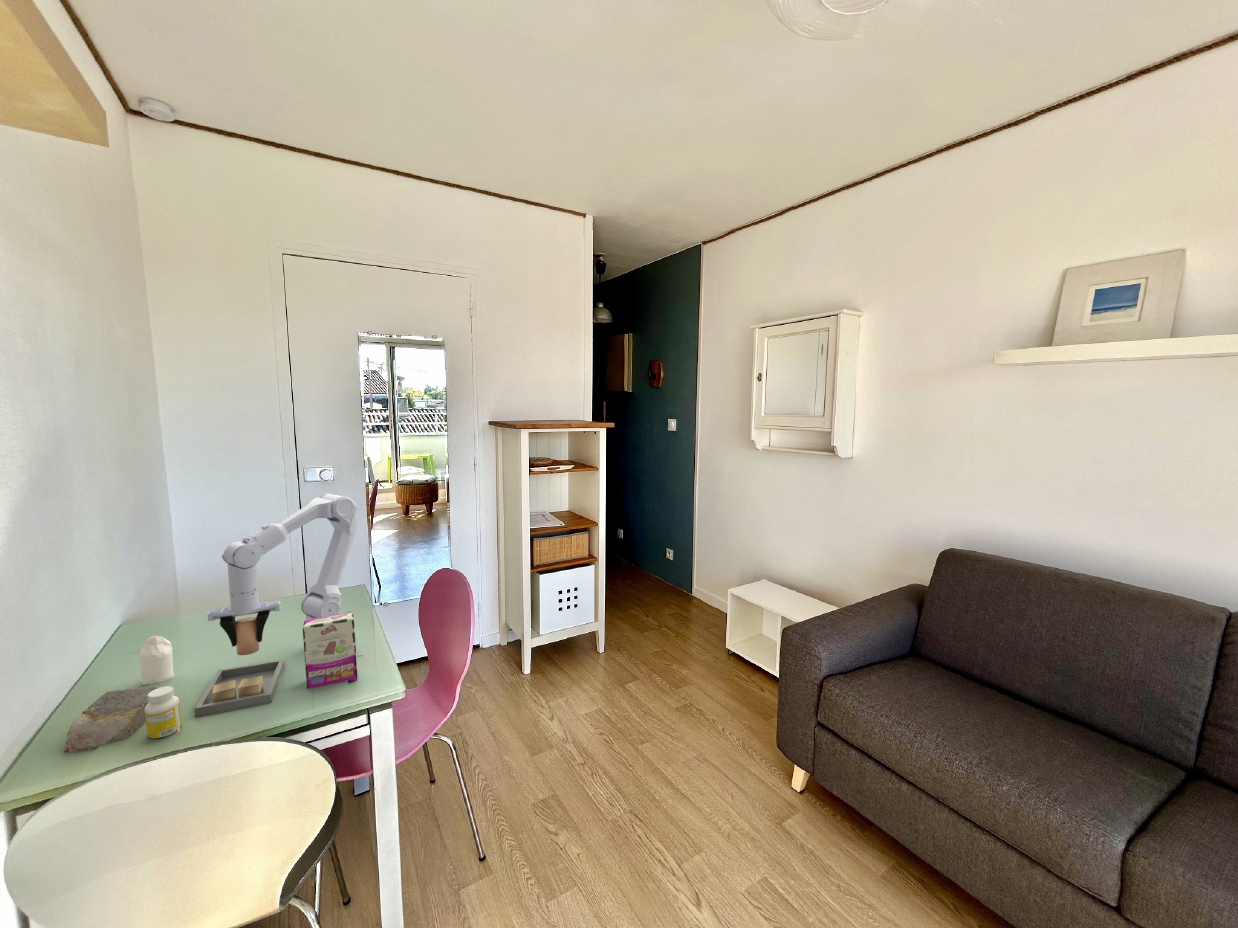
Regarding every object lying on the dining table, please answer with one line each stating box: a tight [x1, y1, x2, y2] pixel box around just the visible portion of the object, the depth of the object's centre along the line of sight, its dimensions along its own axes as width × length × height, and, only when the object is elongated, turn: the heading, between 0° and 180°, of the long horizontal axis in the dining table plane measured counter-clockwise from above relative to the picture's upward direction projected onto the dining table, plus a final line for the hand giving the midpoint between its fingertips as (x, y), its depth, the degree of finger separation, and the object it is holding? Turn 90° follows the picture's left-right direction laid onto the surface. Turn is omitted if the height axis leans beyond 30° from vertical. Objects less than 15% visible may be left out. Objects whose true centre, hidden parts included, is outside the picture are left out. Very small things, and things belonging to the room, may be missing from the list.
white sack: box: [139, 635, 175, 686], centre depth 127 cm, size 6×12×6 cm
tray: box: [194, 658, 286, 718], centre depth 123 cm, size 14×18×3 cm
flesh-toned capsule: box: [235, 616, 260, 656], centre depth 128 cm, size 5×5×8 cm
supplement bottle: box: [145, 685, 183, 742], centre depth 106 cm, size 5×5×10 cm
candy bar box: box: [302, 611, 359, 690], centre depth 128 cm, size 11×5×16 cm, turn 117°
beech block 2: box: [238, 676, 264, 698], centre depth 120 cm, size 4×4×4 cm
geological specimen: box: [63, 686, 162, 753], centre depth 109 cm, size 11×6×15 cm
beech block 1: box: [212, 680, 237, 703], centre depth 117 cm, size 4×4×4 cm
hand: (247, 642), depth 128 cm, fingers closed on flesh-toned capsule, 5 cm apart
